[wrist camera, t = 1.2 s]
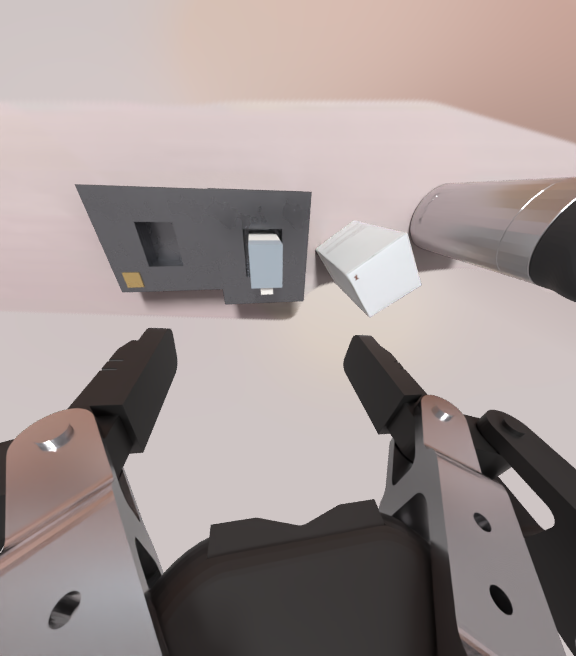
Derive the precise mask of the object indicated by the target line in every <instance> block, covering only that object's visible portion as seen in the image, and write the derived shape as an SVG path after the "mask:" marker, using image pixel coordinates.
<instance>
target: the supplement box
mask: <svg viewBox="0 0 576 656" xmlns="http://www.w3.org/2000/svg"><path fill="white" fill-rule="evenodd" d="M315 250H316V251H317V253H318V255H319V256H320V258H321V260H322V262H323V263H324V265H325V267H326V269H327V270H328V272H329V274H330V276H331V277H332V279H333V281H334V282H335V283H336V284H337V285H338V286H339V287H340V288H341V289H342V290H343V291H344V292H345V293H346V294H347V295H348V296H349V297H350V298H351V300H353V301H354V302H355V304H356V305H357V306H358V307H359V308H360V309H361V310H363V311H364V313H366V315H367V316H369V317H372V316H373V315H375V314H376V313H378V312H379V311H381V310H383V309H384V308H386V307H388V306H389V305H390V304H392V303H394V302H396V301H397V300H399V299H400V298H402V297H404V296H405V295H407V294H408V293H410V292H412V291H413V290H415V289H416V288H418V287H420V286H421V285H422V284H421V280H420V277H419V273H418V270H417V267H416V263H415V260H414V256H413V252H412V248H411V244H410V240H409V236H408V233H407V232H402V231H397V230H393V229H389V228H384V227H380V226H376V225H372V224H367V223H363V222H359V221H352V222H351V223H350V224H348V225H347V226H345V227H344V228H343V229H341V230H340V231H339V232H337V233H336V234H335V235H333V236H332V237H331V238H329V239H328V240H327V241H325V242H324V243H323V244H321V245H320V246H319V247H317V248H316V249H315Z"/></svg>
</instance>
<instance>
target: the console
mask: <svg viewBox="0 0 576 656" xmlns="http://www.w3.org/2000/svg"><path fill="white" fill-rule="evenodd" d="M75 186H76V188H77V191H78V193H79V195H80V197H81V200H82V202H83V204H84V206H85V209H86V211H87V213H88V216H89V218H90V220H91V222H92V225H93V227H94V229H95V231H96V234H97V236H98V238H99V240H100V243H101V245H102V247H103V249H104V252H105V254H106V256H107V259H108V261H109V263H110V265H111V268H112V270H113V272H114V274H115V277H116V279H117V281H118V283H119V286H120V288H121V290H122V292H150V291H181V290H212V289H223V293H224V300H225V304H246V303H269V302H293V301H303V300H304V287H305V273H306V260H307V247H308V233H309V220H310V206H311V193H312V192H302V191H273V190H244V189H215V188H207V189H195V188H166V187H136V186H107V185H78V184H75ZM249 231H275V233H276V235H277V236H278V238H279V239H280V241H281V243H282V244H283V270H282V288H273V294H266V295H261V289H260V288H254V289H251V276H250V262H249V249H248V239H249Z"/></svg>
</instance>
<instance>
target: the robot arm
mask: <svg viewBox="0 0 576 656" xmlns="http://www.w3.org/2000/svg"><path fill="white" fill-rule="evenodd" d="M410 234H411V238H412V240H413V242H414V244H416V245H417V246H418V247H420V248H422V249H425V250H428V251H432V252H435V253H438V254H441V255H444V256H447V257H450V258H453V259H456V260H460V261H463V262H466V263H469V264H472V265H475V266H479V267H482V268H485V269H488V270H491V271H494V272H498V273H501V274H504V275H507V276H511V277H514V278H517V279H520V280H524V281H526V282H530V283H533V284H536V285H538V286H541V287H544V288H547V289H550V290H553V291H555V292H556V293H558V294H560V295H561V296H563V297H565V298H567V299H569V300H571V301H574V302H576V177H564V178H545V179H526V180H506V181H487V182H466V183H449V184H444V185H441V186H439V187H437V188H435V189H433V190H432V191H431V192H430V193H428V194H427V195H426V196H425V197H424V199H423V200H422V201H421V202H420V204H419V205H418V207H417V209H416V210H415V212H414V215H413V218H412V221H411V226H410ZM343 366H344V371H345V373H346V375H347V377H348V379H349V381H350V382H351V384H352V386H353V388H354V390H355V392H356V394H357V395H358V397H359V399H360V401H361V403H362V405H363V407H364V408H365V410H366V412H367V414H368V416H369V418H370V419H371V421H372V423H373V425H374V427H375V429H376V431H377V433H378V434H391V436H392V437H393V438H392V440H391V441H390V445H389V456H388V457H389V458H388V468H387V479H386V488H385V492H384V495H383V498H382V500H381V502H380V506H379V509H378V507H377V505H376V502H375V500H374V499H372V500H366V501H360V502H353V503H347V504H341V505H338V506H336V507H335V508H333V509H331V510H329V511H327V512H326V513H324V514H322V515H321V516H319V517H317V518H315V519H314V520H312V521H310V522H309V523H307V524H305V525H301V526H298V525H292V524H288V523H282V522H277V521H271V520H266V519H261V518H251V519H245V520H238V521H232V522H226V523H220V524H213V525H211V528H210V537H209V538H207V539H205V540H203V541H201V542H199V543H198V544H197V545H195V546H194V547H192V548H191V549H189V550H188V551H187V552H185V553H184V554H183V555H182V556H181V557H180V558H178V559H177V560H176V561H175V562H174V563H173V564H172V565H171V566H170V567H169V568H168V569H167V570H166V572H164V573H163V570H162V567H161V565H160V562H159V559H158V557H157V554H156V551H155V549H154V546H153V544H152V541H151V539H150V537H149V535H148V533H147V531H146V528H145V526H144V523H143V521H142V518H141V515H140V512H139V509H138V507H137V504H136V501H135V498H134V496H133V493H132V490H131V487H130V485H129V482H128V479H127V476H126V473H125V471H124V468H123V466H124V464H125V462H126V459H127V457H128V455H129V454H131V453H143V452H144V449H145V447H146V444H147V442H148V439H149V437H150V435H151V432H152V430H153V427H154V425H155V422H156V420H157V417H158V415H159V412H160V410H161V407H162V405H163V403H164V400H165V398H166V395H167V393H168V390H169V388H170V386H171V383H172V381H173V378H174V376H175V373H176V370H177V355H176V349H175V343H174V338H173V333H172V330H171V329H166V328H165V329H163V328H148V329H147V330H146V331H145V332H144V333H143V335H142V336H141V338H140V339H139V340H138V341H136V340H132V341H130V342H128V343H127V344H125V345H124V346H122V347H120V348H119V349H118V350H117V351H116V352H115V353H114V355H113V356H112V357H111V358H110V359H109V362H107V363H106V364H105V365H104V366H103V368H102V371H99V372H98V373H97V375H96V376H95V377H94V378H93V380H92V381H91V382H90V383H89V384H88V385H87V387H86V388H85V389H84V390H83V391H82V393H81V394H80V395H79V396H78V397H77V398H76V400H75V401H74V402H73V403H72V404H71V405H70V407H69V408H68V409H67V410H62V411H59V412H56V413H53V414H50V415H48V416H46V417H44V418H42V419H40V420H38V421H37V422H35V423H33V424H32V425H30V426H29V427H28V428H26V429H25V430H23V431H22V432H21V433H20V434H19V435H18V436H17V437H16V438H15V439H13V440H9V441H6V442H2V443H0V551H1V549H2V548H3V546H4V548H3V550H2V552H1V553H0V656H566V654H565V651H564V648H563V645H562V643H561V640H560V637H559V635H558V633H559V634H560V635H561V637H562V639H563V640H564V642H565V643H566V645H567V646H568V648H569V649H570V650H571V652H572V653H573V655H574V656H576V469H575V468H574V467H572V466H571V465H570V464H569V463H568V462H567V461H566V460H565V459H563V458H562V457H561V456H560V455H559V454H558V453H557V452H555V451H554V450H553V449H552V448H551V447H550V446H549V445H547V444H546V443H545V442H544V441H543V440H542V439H541V438H539V437H538V436H537V435H536V434H535V433H534V432H533V431H531V430H530V429H529V428H528V427H527V426H526V425H524V424H523V423H522V422H520V421H519V420H517V419H516V418H514V417H512V416H510V415H508V414H506V413H504V412H501V411H497V410H489V411H487V412H486V413H485V414H484V415H483V416H482V417H481V418H476V417H472V416H468V415H463V414H462V412H461V411H460V410H459V409H458V408H457V407H455V406H454V405H453V404H451V403H450V402H449V401H447V400H445V399H443V398H440V397H438V396H435V395H427V394H426V392H425V391H424V390H423V389H422V388H421V387H420V386H419V385H418V383H417V382H416V381H415V380H414V379H413V378H412V377H411V376H410V374H409V373H407V371H406V370H404V369H403V367H402V366H401V364H400V363H398V362H397V360H396V359H395V358H394V356H393V355H392V354H391V353H390V352H388V351H387V350H385V349H384V348H383V347H381V346H380V345H379V344H378V343H377V342H376V340H375V339H374V338H373V337H372V336H366V335H355V336H353V338H352V340H351V342H350V345H349V348H348V350H347V353H346V356H345V358H344V363H343ZM511 467H512V468H513V469H514V470H515V471H516V472H517V473H518V474H519V475H520V477H521V478H522V479H523V480H524V481H525V482H526V483H527V484H528V485H529V486H530V487H531V489H532V490H533V491H534V492H536V494H537V495H538V496H539V497H540V498H541V499H542V500H543V502H544V503H545V504H546V505H547V506H548V507H549V509H550V510H551V512H552V514H553V516H554V519H555V524H554V526H553V527H552V528H550V529H547V530H544V529H542V528H541V527H540V526H539V525H538V524H537V523H536V521H535V520H534V519H533V518H532V516H531V515H530V514H529V513H528V512H527V510H526V509H525V508H524V507H523V506H522V504H521V503H520V502H519V501H518V500H517V499H516V497H515V496H514V495H513V494H512V492H511V491H510V490H509V489H508V488H507V487H506V485H505V484H504V483H503V482H502V481H501V479H500V478H499V477H498V476H499V475H500V474H502V473H503V472H505V471H506V470H508V469H509V468H511ZM557 631H558V632H557Z"/></svg>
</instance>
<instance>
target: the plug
mask: <svg viewBox="0 0 576 656" xmlns="http://www.w3.org/2000/svg"><path fill="white" fill-rule="evenodd" d="M248 249H249V262H250V276H251V289H254V288H260V289H261V295H266V294H273V288H282V270H283V244H282V243H281V241H280V239H279V238H278V236H277V235H276V233H275V231H249V239H248Z"/></svg>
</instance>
